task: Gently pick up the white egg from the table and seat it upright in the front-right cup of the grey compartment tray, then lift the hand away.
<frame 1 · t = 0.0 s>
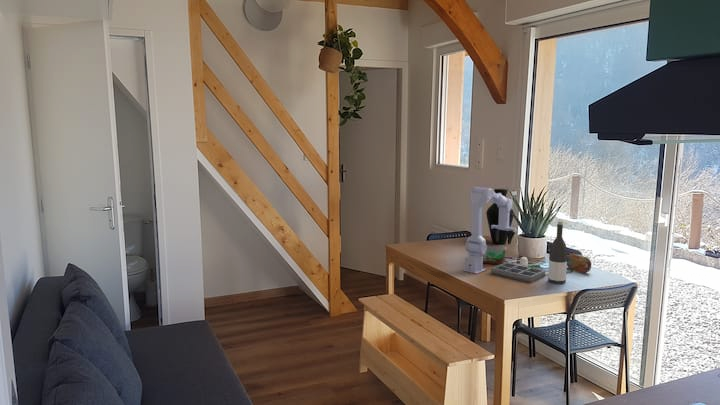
hand: (503, 242, 286), 10 cm above the table, tool pointing down, fingers open, 7 cm apart
brown rounded piece: (578, 271, 267), on the table
grey compartment tray: (517, 274, 260), on the table
egg: (523, 267, 272), on the table
vase: (498, 243, 328), on the table
wine bottle: (556, 282, 249), on the table
food container: (494, 263, 281), on the table
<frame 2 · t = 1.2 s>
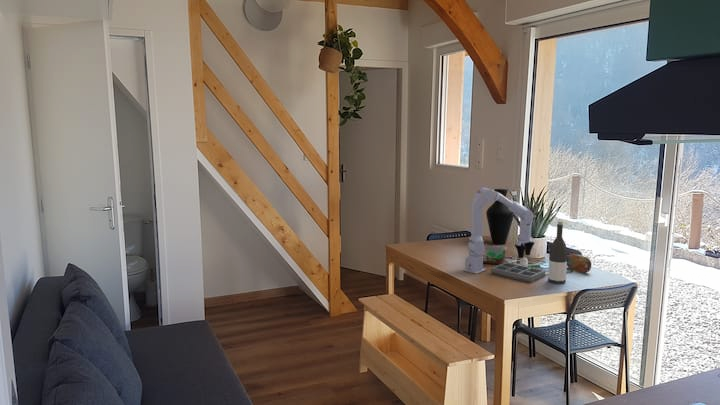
hand: (524, 256, 271), 6 cm above the table, tool pointing down, fingers open, 7 cm apart
nothing on the table moved.
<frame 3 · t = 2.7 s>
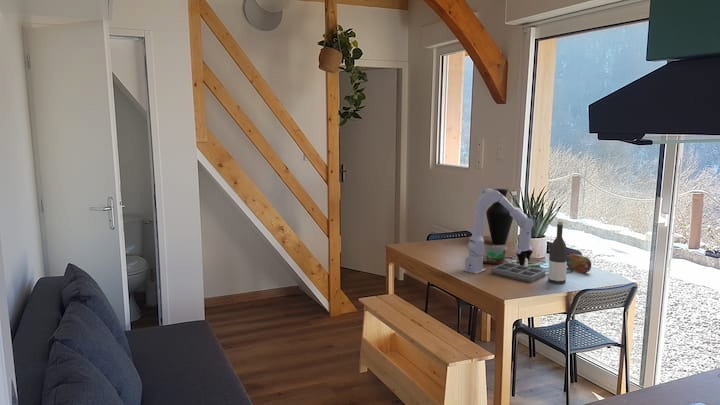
hand: (523, 264, 272), 2 cm above the table, tool pointing down, fingers closed on egg, 4 cm apart
egg: (523, 267, 272), on the table, touching gripper
everything else where it was.
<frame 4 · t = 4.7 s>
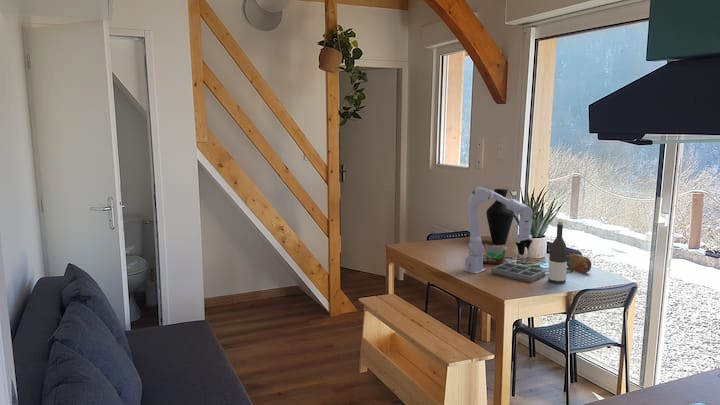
hand: (523, 253, 267), 9 cm above the table, tool pointing down, fingers closed on egg, 4 cm apart
egg: (523, 257, 267), point 7 cm above the table, touching gripper
everything else where it was.
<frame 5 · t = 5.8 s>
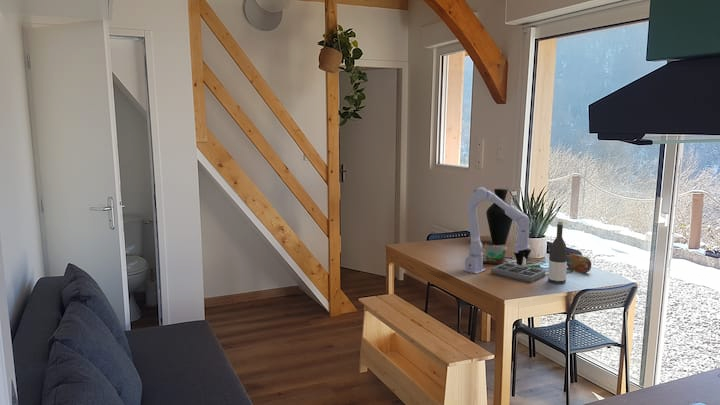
hand: (521, 263, 261), 5 cm above the table, tool pointing down, fingers closed on egg, 4 cm apart
egg: (521, 267, 262), point 3 cm above the table, touching gripper
everything else where it was.
when the fingers open (4 cm above the table, at t = 6.8 s): egg stays where it is, resting on grey compartment tray.
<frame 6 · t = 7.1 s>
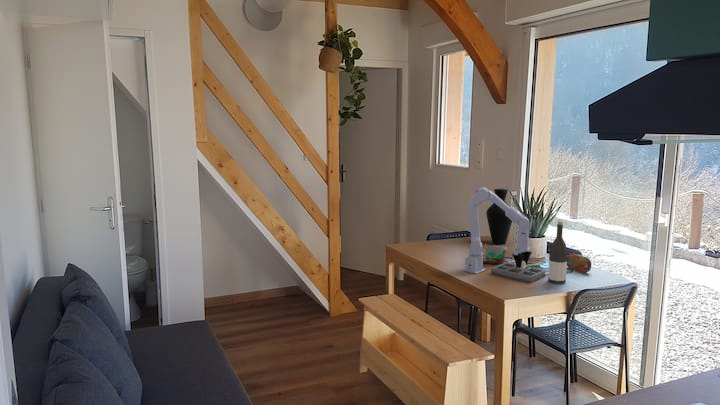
hand: (521, 266, 262), 4 cm above the table, tool pointing down, fingers open, 6 cm apart
egg: (521, 271, 262), point 1 cm above the table, touching grey compartment tray
everything else where it was.
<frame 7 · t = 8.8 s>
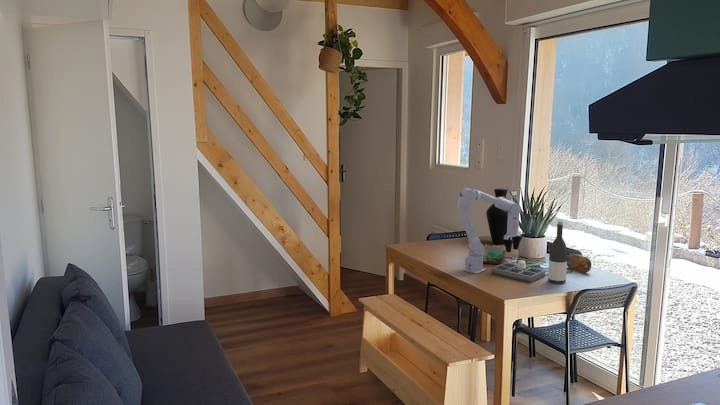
hand: (511, 250, 267), 10 cm above the table, tool pointing down, fingers open, 7 cm apart
nothing on the table moved.
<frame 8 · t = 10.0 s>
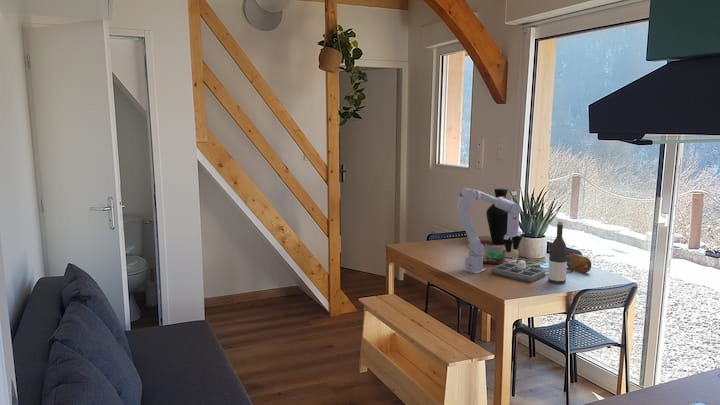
hand: (511, 250, 267), 10 cm above the table, tool pointing down, fingers open, 7 cm apart
nothing on the table moved.
at the end: egg 0.1 cm from the target spot on the grey compartment tray, point 1.0 cm above the grey compartment tray's base; egg tilted 0°; the gripper is holding nothing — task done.
